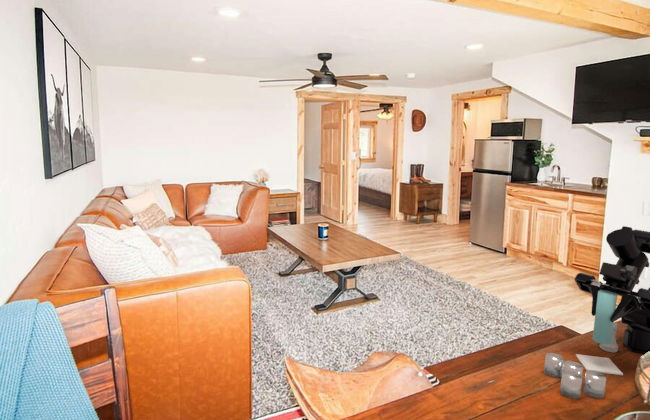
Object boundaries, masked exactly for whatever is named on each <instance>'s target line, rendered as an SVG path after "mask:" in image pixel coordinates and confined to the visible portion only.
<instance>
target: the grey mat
mask: <svg viewBox="0 0 650 420" xmlns="http://www.w3.org/2000/svg"><path fill="white" fill-rule="evenodd" d="M575 357H576V358H577V359H578V360H579V362H580V364H581V365H582V366H583V368H584V369H585V370H586V371H588V370H592V371H597V372H600V373H602V374H607V375H608V374H610V375H616V376H624V373H623V372H622V371H621V370H620V369H619V368H618V367H617V366H616V364H615V363H614V362H613V361H612V360H611V358H609V357H604V356H603V357H601V356H596V355H595V356H594V355H585V354H578V353H576V354H575Z"/></svg>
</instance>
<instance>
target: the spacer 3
mask: <svg viewBox="0 0 650 420" xmlns="http://www.w3.org/2000/svg"><path fill="white" fill-rule="evenodd" d="M584 375H585V376H584V383H583V389H582V390H583V393H584V394H585V395H587V396H589V397H591V398H595V399H603V398H604V397H605V391H606V384H607V376H606V375H605V373H600V372H597V371H592V370H588V371H587V370H586V371H585V374H584Z"/></svg>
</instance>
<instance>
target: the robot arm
mask: <svg viewBox="0 0 650 420" xmlns="http://www.w3.org/2000/svg"><path fill="white" fill-rule="evenodd" d="M605 240H606V242H607V244H608V246H609V247H610V250H611V251H612V253H613V254H614V256H615V257H616V258H618V260H617V262H616V264H614V263H608V262H602V265H601V267H600V270H599V275H602V276H603V277H602V280H603V281H604V282H605V283H603V282H602V281H599V280H597V279H596V277H595V275H593V274H588V273H585V272H579V273H577V274H576V275H575V276H574V278H573V280H574V282H575V284H576V285H577V287H578V289H579V290H580V291H581V292H585V293H587V294H590V295H591V296H592V300H591V301H592V303H591V316H593V317H594V316H595V313H596V305H597V297H598V291H599V290H606V291H611V292H614V293H616V294H617V296H621V299H620V301H619V303H618V304H617V305H616V309H615V311H614V313H613V314H612V316H611V319H610V321H611V322H616V321H617V320H619V319H620V320H621V323H622V324H624V325H626V328H625V329H624V330H623V331H624V332H623V339H622V340H621V343H622V344H624V345H625V346H626V348H628V349H629V350H630V351H631V352H633V353H641V354H647V353H646V352H648V351H650V287H649V288H648V289H646V288H644V287H643V288H642V287H640V288H638V290H637V291H633V290H634V288H635V286H636V285H639V284H640V278H641V275H642V273H643V271H644V270H645V268H649V267H650V262H649V258H648V256H647V255H646V254H650V231H647V230H641V229H633V228H632V227H631V226H624V225H623V226H622V227H621V228H620V229H616V230H613V231H611V232H609V233H608V234H607V235H606V239H605Z"/></svg>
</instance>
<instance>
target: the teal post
mask: <svg viewBox="0 0 650 420" xmlns="http://www.w3.org/2000/svg"><path fill="white" fill-rule="evenodd" d="M617 299H618V295H617V294H616V293H614V292H611V291H606V290H599V291H598V297H597V305H596V313H595V317H594V323H593V324H594V325H593V331H592V341H593V342H595V343H597V344H599V345H600V344H604V345H609V344H611V340H612V332H613V324H614V322H615V321H614V322H611V321H610V319H611V316H612V314H613V313H614V311H615V309H616V308H617Z"/></svg>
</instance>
